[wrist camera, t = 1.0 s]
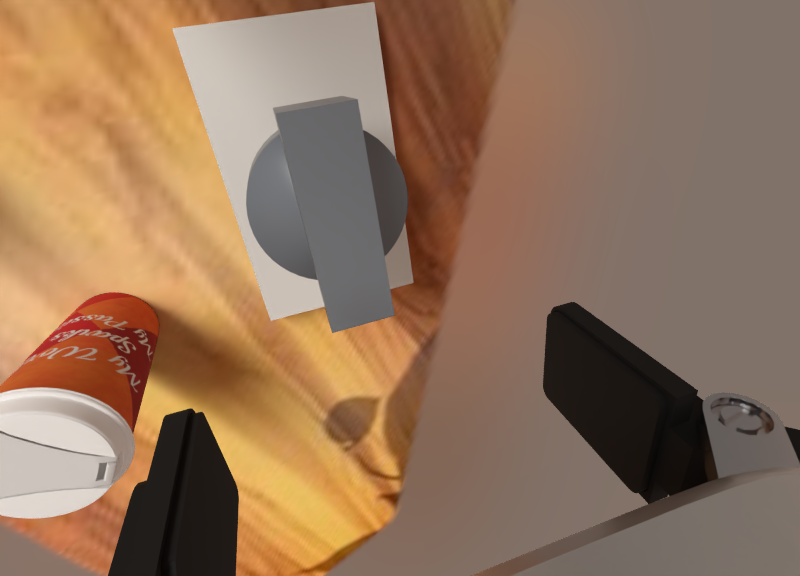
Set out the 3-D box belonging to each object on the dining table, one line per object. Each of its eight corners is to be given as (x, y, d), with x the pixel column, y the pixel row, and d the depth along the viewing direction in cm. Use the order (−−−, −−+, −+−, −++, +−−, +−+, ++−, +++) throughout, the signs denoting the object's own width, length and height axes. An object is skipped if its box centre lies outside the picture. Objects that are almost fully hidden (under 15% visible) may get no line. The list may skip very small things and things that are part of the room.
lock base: (177, 31, 26) (158, 20, 21) (367, 6, 28) (391, -10, 23) (270, 309, 36) (272, 348, 30) (406, 273, 38) (429, 304, 33)
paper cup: (184, 292, 33) (141, 416, 21) (164, 373, 35) (114, 526, 23) (62, 266, 30) (-72, 395, 18) (49, 357, 32) (-77, 525, 20)
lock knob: (220, 113, 23) (205, 125, 17) (379, 85, 25) (418, 88, 19) (278, 299, 29) (284, 358, 23) (406, 266, 30) (442, 313, 24)
